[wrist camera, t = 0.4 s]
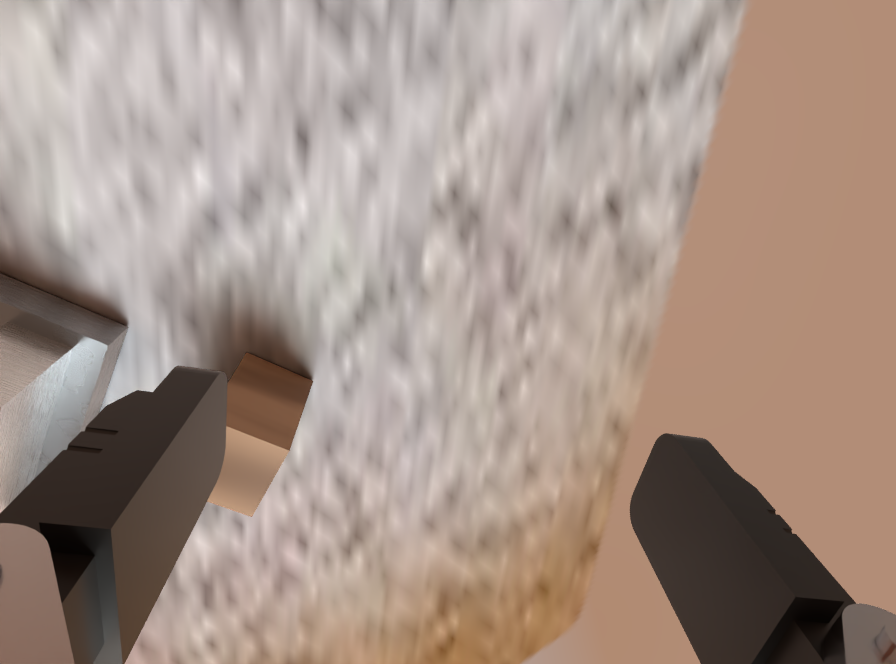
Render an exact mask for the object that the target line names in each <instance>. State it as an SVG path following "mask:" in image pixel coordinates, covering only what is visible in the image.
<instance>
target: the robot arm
mask: <svg viewBox="0 0 896 664" xmlns="http://www.w3.org/2000/svg"><path fill="white" fill-rule="evenodd" d="M226 418H227V376H226V374H225V372H221V371H214V370H207V369H199V368H192V367H185V366H177V367H175V368H174V369H173V370H172V371H171V372H170V373H169V374H168V376H167V377H166V378H165V379H164V380H163V381H162V382H161V384H160V385H159V386H158V387H157V388H156V389H155V390H154V392H146V391H139V390H137V391H135V392H133V393H131V394H129V395H127V396H125V397H123V398H121V399H119V400H117V401H115V402H113V403H111V404H109V405H107V406H106V407H105V408H104V409H103V410H102V411H101V412H100V413H99V414H98V415H97V416H96V417H95V418H94V419H93V420H92V421H91V422H90V423H89V424H88V425H87V426H86V428H85V431H81V432H80V433H79V434H78V435H77V436H76V437H75V438H74V439H73V440H72V441H71V442H70V443H69V444H68V447H67V449H66V450H62V451H61V452H60V453H59V454H58V455H57V456H56V457H55V458H54V459H53V460H52V461H51V462H50V463H49V464H48V465H47V466H46V467H45V468H44V469H43V470H42V472H41V473H40V474H39V475H38V476H37V477H36V478H35V479H34V480H33V481H32V482H31V483H30V484H29V485H28V486H27V487H26V488H25V489H24V490H23V491H22V492H21V493H20V494H19V495H18V496H17V497H16V498H15V499H14V500H13V501H12V502H11V503H10V504H9V505H8V506H7V507H6V508H5V509H4V510H3V511H2V512H1V513H0V664H124V663H125V661H126V659H127V658H128V656H129V654H130V652H131V650H132V648H133V646H134V644H135V642H136V640H137V638H138V636H139V634H140V632H141V630H142V628H143V626H144V624H145V622H146V620H147V618H148V616H149V614H150V612H151V610H152V608H153V606H154V604H155V603H156V601H157V599H158V597H159V595H160V593H161V591H162V589H163V587H164V585H165V583H166V581H167V579H168V577H169V575H170V573H171V571H172V569H173V567H174V565H175V563H176V561H177V559H178V557H179V555H180V553H181V551H182V549H183V548H184V546H185V544H186V542H187V540H188V538H189V536H190V534H191V532H192V530H193V528H194V526H195V524H196V522H197V520H198V518H199V516H200V514H201V512H202V510H203V508H204V506H205V504H206V502H207V500H208V498H209V496H210V494H211V493H212V491H213V489H214V487H215V485H216V483H217V480H218V478H219V475H220V472H221V469H222V465H223V461H224V456H225V448H226ZM630 517H631V523H632V526H633V529H634V531H635V533H636V535H637V537H638V539H639V541H640V543H641V545H642V547H643V549H644V551H645V553H646V555H647V557H648V559H649V561H650V563H651V565H652V567H653V569H654V571H655V573H656V575H657V577H658V579H659V581H660V583H661V585H662V587H663V589H664V591H665V593H666V595H667V597H668V599H669V601H670V603H671V605H672V607H673V609H674V611H675V613H676V615H677V617H678V619H679V620H680V623H681V625H682V627H683V629H684V631H685V632H686V635H687V637H688V638H689V641H690V643H691V645H692V647H693V649H694V651H695V652H696V655H697V656H698V659H699V660H700V663H701V664H896V615H895V614H893V613H891V612H888V611H886V610H884V609H881V608H878V607H875V606H871V605H867V604H856V603H855V602H854V600H853V599H852V598H851V597H850V596H849V595H848V594H847V592H846V591H845V590H844V589H843V588H842V587H841V585H840V584H839V583H838V582H837V581H836V580H835V579H834V577H833V576H832V575H831V574H830V573H829V572H828V570H827V569H826V568H825V567H824V566H823V565H822V563H821V562H820V561H819V560H818V559H817V558H816V557H815V555H814V554H813V553H812V552H811V551H810V550H809V548H808V547H807V546H806V545H805V544H804V543H803V541H802V540H801V539H800V538H799V537H798V536H797V535H796V534H792V532H791V530H792V529H791V528H790V527H789V525H788V524H787V523H786V522H785V521H784V520H783V519H782V517H781V516H780V515H776V514H775V509H774V508H773V507H772V506H771V505H770V503H769V502H768V501H767V500H766V499H765V498H764V497H763V496H762V494H761V493H760V492H759V491H758V490H757V488H755V487H754V486H753V485H751V484H750V483H749V482H747V481H746V480H745V479H743V478H742V477H741V476H739V475H738V474H737V473H736V472H734V470H733V469H732V468H731V467H730V466H729V465H728V463H727V462H726V461H725V460H724V459H723V457H722V456H721V455H720V454H719V453H718V451H717V450H716V449H715V448H714V447H713V446H712V444H711V443H710V442H709V441H707V440H706V439H703V438H697V437H690V436H682V435H675V434H663V435H661V436H660V437H659V438H658V439H657V440H656V442H655V444H654V446H653V448H652V451H651V453H650V456H649V458H648V460H647V462H646V465H645V467H644V469H643V472H642V474H641V476H640V479H639V481H638V483H637V486H636V488H635V490H634V492H633V495H632V498H631V504H630Z"/></svg>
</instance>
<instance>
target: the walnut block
mask: <svg viewBox="0 0 896 664" xmlns="http://www.w3.org/2000/svg"><path fill="white" fill-rule="evenodd" d="M312 383H313V381H312V380H309V379H307V378H305V377H302V376H300V375H298V374H295V373H293V372H291V371H289V370H286V369H284V368H282V367H279V366H277V365H275V364H272V363H270V362H268V361H266V360H263V359H261V358H259V357H256V356H254V355H252V354H249V353H247V352H246V354H245V355H244V357H243V359H242V360H241V362H240V364H239V365H238V367H237V369H236V370H235V372H234V374H233V375H232V377H231V379H230V380H229V382H228V384H227V418H226V448H225V456H224V461H223V465H222V469H221V472H220V475H219V478H218V480H217V483H216V485H215V487H214V489H213V491H212V493H211V494H210V496H209V498H208V500H207V502H210V503H213V504H216V505H219V506H222V507H225V508H228V509H230V510H233V511H236V512H239V513H242V514H245V515H248V516H251V517H252V516H253V514H254V512H255V510H256V509H257V507H258V505H259V503H260V501H261V500H262V498H263V496H264V494H265V493H266V491H267V489H268V487H269V486H270V484H271V482H272V480H273V479H274V477H275V475H276V473H277V471H278V470H279V468H280V466H281V464H282V463H283V461H284V459H285V457H286V456H287V454H288V452H289V450H290V447H291V444H292V441H293V438H294V435H295V432H296V430H297V427H298V424H299V421H300V418H301V415H302V412H303V409H304V406H305V403H306V400H307V398H308V395H309V392H310V389H311V386H312Z"/></svg>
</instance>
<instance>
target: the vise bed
mask: <svg viewBox="0 0 896 664" xmlns="http://www.w3.org/2000/svg"><path fill="white" fill-rule="evenodd" d="M127 330H128V327H127V326H124V325H122V324H120V323H117V322H115V321H113V320H110V319H108V318H105V317H103V316H101V315H98V314H96V313H94V312H91V311H89V310H87V309H84V308H82V307H79V306H77V305H75V304H72V303H70V302H68V301H65V300H63V299H60V298H58V297H56V296H53V295H51V294H49V293H46V292H44V291H41V290H39V289H37V288H34V287H32V286H30V285H27V284H25V283H22V282H20V281H18V280H15V279H13V278H11V277H8V276H6V275H4V274H1V273H0V513H1V512H2V511H3V510H4V509H5V508H6V507H7V506H8V505H9V504H10V503H11V502H12V501H13V500H14V499H15V498H16V497H17V496H18V495H19V494H20V493H21V492H22V491H23V490H24V489H25V488H26V487H27V486H28V485H29V484H30V483H31V482H32V481H33V480H34V479H35V478H36V477H37V476H38V475H39V474H40V473H41V472H42V470H43V469H44V468H45V467H46V466H47V465H48V464H49V463H50V462H51V461H52V460H53V459H54V458H55V457H56V456H57V455H58V454H59V453H60V452H61V451H62V450H66V449H67V447H68V444H69V443H70V442H71V441H72V440H73V439H74V438H75V437H76V436H77V435H78V434H79V433H80V432H81V431H85V428H86V426H87V425H88V424H89V423H90V422H91V421H92V420H93V419H94V418H95V417H96V416H97V415H98V414H99V411H100V408H101V406H102V403H103V400H104V397H105V394H106V391H107V388H108V385H109V382H110V379H111V376H112V373H113V371H114V368H115V365H116V362H117V359H118V356H119V353H120V350H121V347H122V344H123V341H124V339H125V336H126V333H127Z"/></svg>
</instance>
